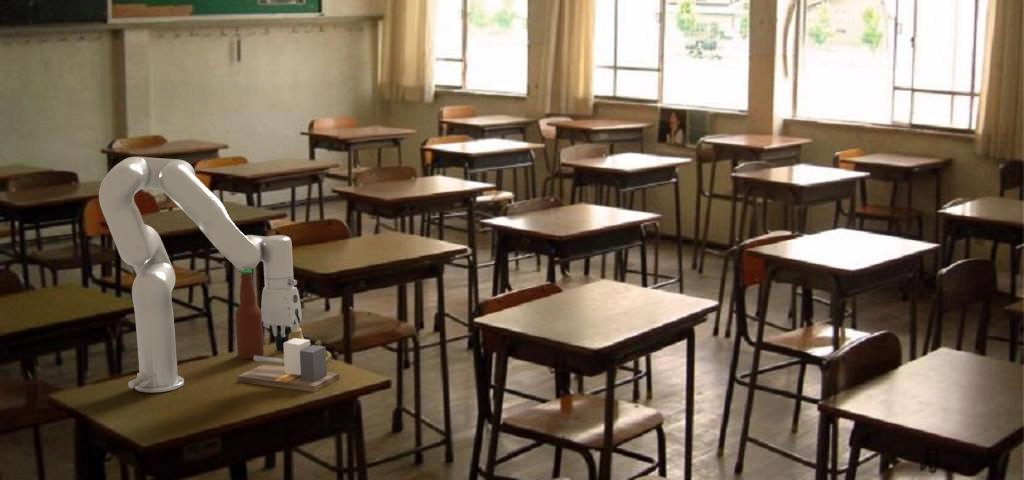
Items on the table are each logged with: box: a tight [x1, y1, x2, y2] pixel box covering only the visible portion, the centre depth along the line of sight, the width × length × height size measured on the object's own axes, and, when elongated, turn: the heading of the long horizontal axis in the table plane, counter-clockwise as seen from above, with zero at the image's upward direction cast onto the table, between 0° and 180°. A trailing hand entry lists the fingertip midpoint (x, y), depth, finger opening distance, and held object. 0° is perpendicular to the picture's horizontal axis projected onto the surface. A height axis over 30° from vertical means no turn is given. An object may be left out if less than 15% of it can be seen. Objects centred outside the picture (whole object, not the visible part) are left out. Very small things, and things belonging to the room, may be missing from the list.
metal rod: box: [253, 355, 284, 365], centre depth 332 cm, size 1×16×1 cm, turn 66°
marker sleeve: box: [283, 338, 311, 375], centre depth 329 cm, size 5×5×8 cm
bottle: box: [234, 269, 265, 360], centre depth 352 cm, size 7×7×25 cm
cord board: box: [237, 363, 340, 393], centre depth 332 cm, size 12×24×2 cm, turn 66°
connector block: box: [300, 344, 328, 382], centre depth 327 cm, size 6×4×8 cm, turn 156°
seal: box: [314, 339, 333, 364], centre depth 351 cm, size 9×5×15 cm
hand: (282, 350), depth 331 cm, fingers closed
